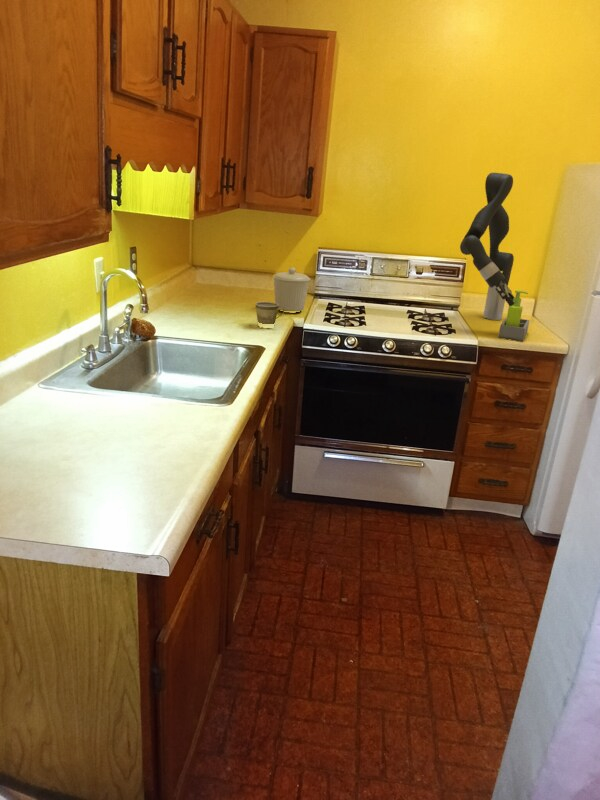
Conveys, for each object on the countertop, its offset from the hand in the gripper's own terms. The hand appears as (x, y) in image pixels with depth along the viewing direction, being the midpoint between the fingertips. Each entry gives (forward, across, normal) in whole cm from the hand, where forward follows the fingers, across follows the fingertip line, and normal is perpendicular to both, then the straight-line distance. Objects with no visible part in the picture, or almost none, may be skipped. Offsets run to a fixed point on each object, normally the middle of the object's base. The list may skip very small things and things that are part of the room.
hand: (513, 303), depth 275 cm
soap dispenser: (+11, 0, +9) cm, 15 cm away
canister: (-60, -21, +82) cm, 103 cm away
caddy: (+12, +5, +9) cm, 16 cm away
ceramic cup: (-55, -56, +76) cm, 110 cm away
